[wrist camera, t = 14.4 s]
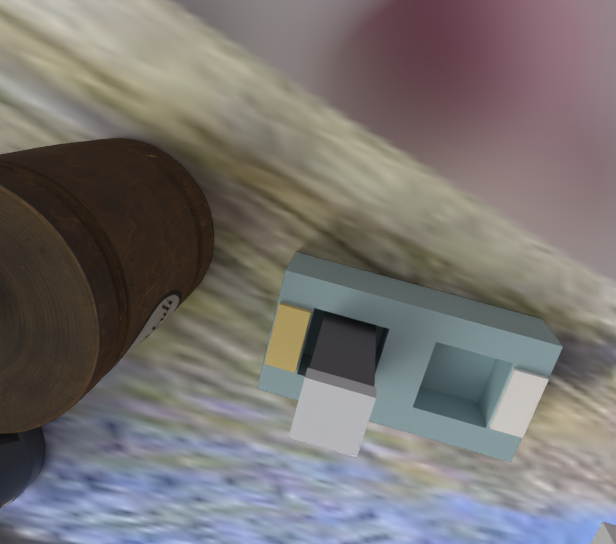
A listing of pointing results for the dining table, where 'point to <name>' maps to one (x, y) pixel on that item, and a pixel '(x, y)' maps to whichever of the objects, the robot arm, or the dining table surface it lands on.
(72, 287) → the wooden container
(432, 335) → the socket block
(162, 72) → the dining table surface
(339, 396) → the plug
